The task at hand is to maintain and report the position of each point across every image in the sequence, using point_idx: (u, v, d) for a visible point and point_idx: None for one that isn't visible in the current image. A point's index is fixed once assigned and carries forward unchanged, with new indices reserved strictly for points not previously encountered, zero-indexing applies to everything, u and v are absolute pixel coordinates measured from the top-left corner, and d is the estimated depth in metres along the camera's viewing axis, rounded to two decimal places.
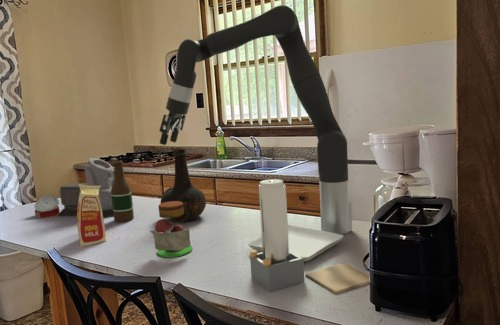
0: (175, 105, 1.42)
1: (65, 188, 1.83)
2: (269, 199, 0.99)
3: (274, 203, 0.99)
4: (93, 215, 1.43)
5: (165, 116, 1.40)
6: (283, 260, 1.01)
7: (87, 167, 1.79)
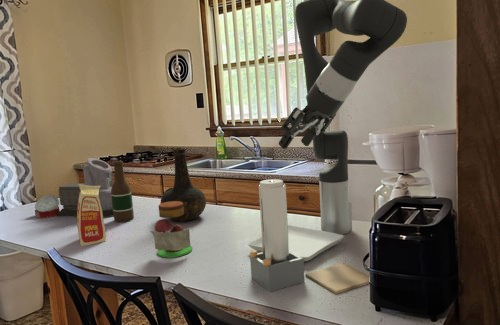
0: None
1: (64, 188, 1.83)
2: (269, 199, 0.99)
3: (274, 203, 0.99)
4: (93, 215, 1.43)
5: None
6: (283, 260, 1.01)
7: (85, 167, 1.79)
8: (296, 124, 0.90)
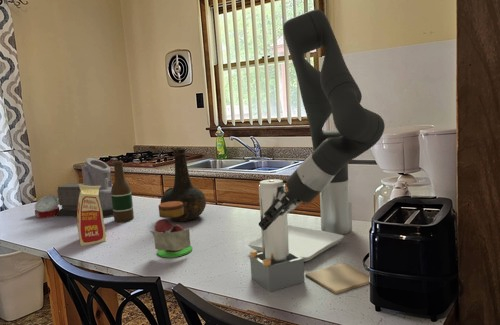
0: None
1: (62, 188, 1.83)
2: (269, 199, 0.99)
3: None
4: (93, 215, 1.43)
5: None
6: (283, 260, 1.01)
7: (84, 167, 1.79)
8: (278, 213, 0.95)
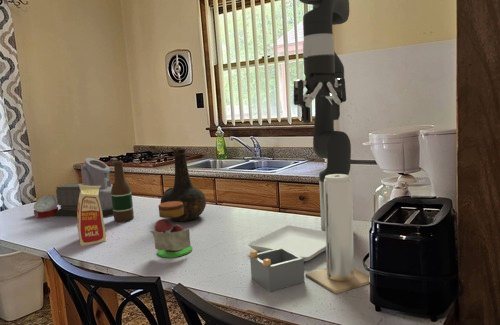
0: None
1: (61, 188, 1.83)
2: (336, 194, 0.97)
3: (341, 198, 0.97)
4: (93, 215, 1.43)
5: None
6: (349, 256, 0.99)
7: (83, 167, 1.79)
8: (300, 91, 1.01)
